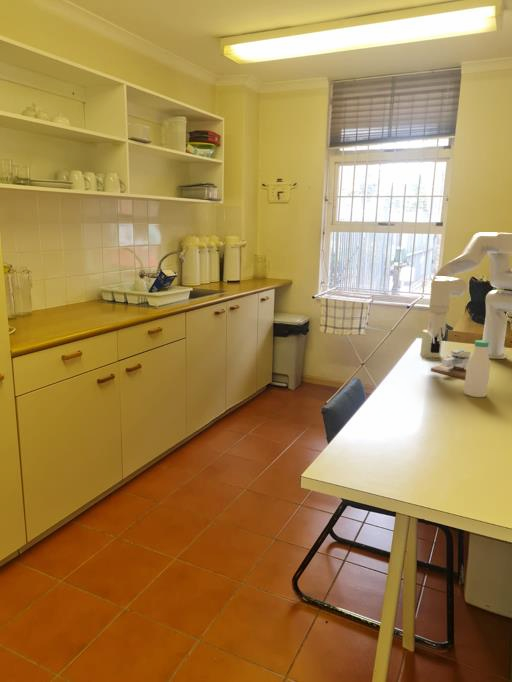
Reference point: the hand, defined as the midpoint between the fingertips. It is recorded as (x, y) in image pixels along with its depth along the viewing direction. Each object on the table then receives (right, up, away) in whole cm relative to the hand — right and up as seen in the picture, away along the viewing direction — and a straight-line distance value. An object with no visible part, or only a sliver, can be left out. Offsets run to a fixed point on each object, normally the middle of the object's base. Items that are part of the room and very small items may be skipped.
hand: (434, 352), depth 212 cm
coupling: (+8, -6, -1) cm, 10 cm away
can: (+8, -2, +29) cm, 30 cm away
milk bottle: (+5, -15, -27) cm, 31 cm away
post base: (+11, -8, +2) cm, 14 cm away
